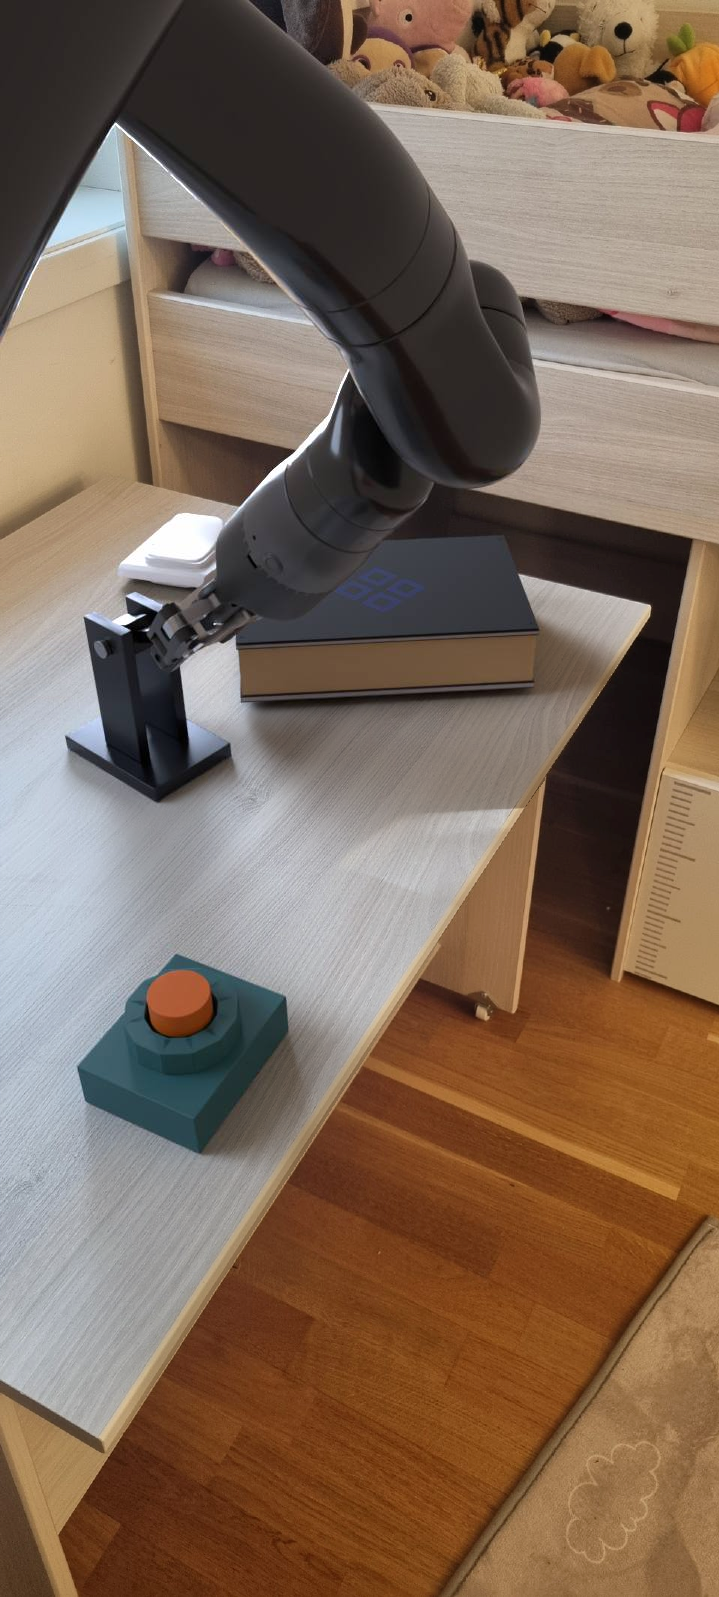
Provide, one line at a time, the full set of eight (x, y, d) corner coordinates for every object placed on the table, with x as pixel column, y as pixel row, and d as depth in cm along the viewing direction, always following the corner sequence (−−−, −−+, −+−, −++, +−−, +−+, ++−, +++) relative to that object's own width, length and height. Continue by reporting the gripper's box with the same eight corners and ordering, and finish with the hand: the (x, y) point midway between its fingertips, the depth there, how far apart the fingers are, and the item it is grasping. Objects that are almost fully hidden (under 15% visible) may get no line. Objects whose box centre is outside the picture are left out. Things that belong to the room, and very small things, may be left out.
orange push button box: (199, 1155, 67) (190, 1098, 64) (84, 1102, 70) (70, 1045, 67) (289, 1031, 74) (285, 975, 71) (181, 988, 77) (172, 932, 73)
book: (241, 609, 115) (236, 546, 111) (499, 597, 116) (503, 534, 112) (241, 710, 101) (235, 642, 97) (533, 695, 103) (539, 628, 98)
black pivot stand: (231, 755, 96) (218, 616, 88) (156, 802, 92) (135, 659, 84) (142, 706, 102) (122, 571, 94) (67, 748, 97) (39, 609, 89)
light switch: (263, 509, 124) (216, 557, 114) (265, 546, 127) (218, 597, 117) (167, 497, 127) (113, 543, 117) (171, 534, 129) (117, 582, 119)
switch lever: (238, 639, 85) (228, 607, 84) (190, 665, 82) (179, 633, 81) (149, 636, 93) (138, 607, 92) (102, 660, 90) (91, 630, 89)
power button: (190, 1046, 67) (187, 1025, 66) (137, 1024, 68) (133, 1003, 67) (225, 1003, 69) (222, 982, 68) (173, 982, 71) (170, 962, 70)
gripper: (347, 445, 76) (232, 565, 89) (177, 520, 67) (80, 640, 81) (411, 545, 76) (287, 649, 90) (251, 632, 68) (141, 733, 81)
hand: (189, 645), depth 85 cm, fingers closed on switch lever, 4 cm apart
